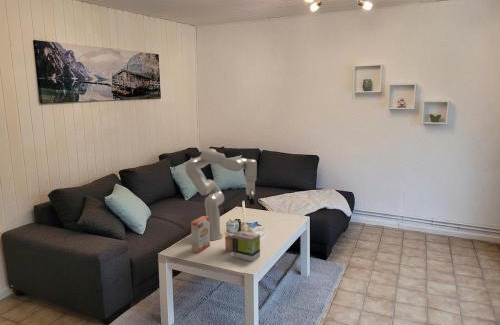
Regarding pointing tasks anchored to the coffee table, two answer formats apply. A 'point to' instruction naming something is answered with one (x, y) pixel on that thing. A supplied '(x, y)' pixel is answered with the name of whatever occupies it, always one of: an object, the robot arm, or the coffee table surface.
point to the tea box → (246, 245)
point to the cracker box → (200, 234)
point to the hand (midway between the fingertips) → (250, 202)
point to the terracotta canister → (228, 244)
